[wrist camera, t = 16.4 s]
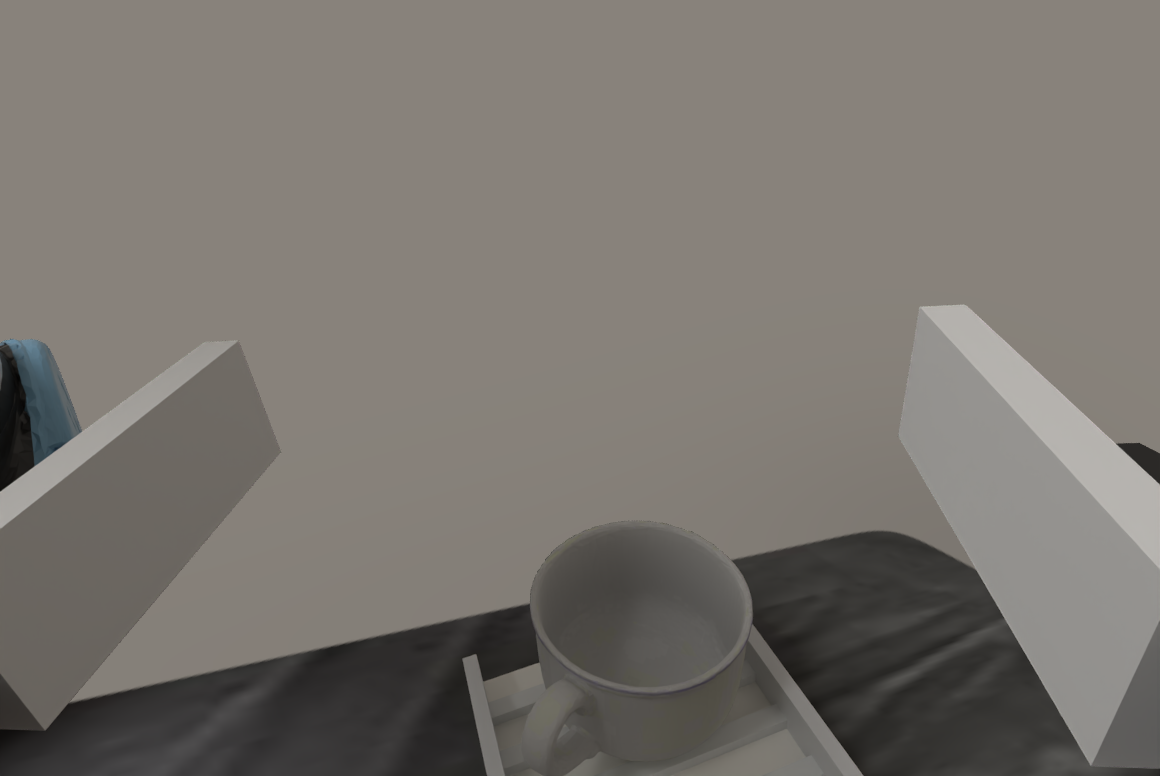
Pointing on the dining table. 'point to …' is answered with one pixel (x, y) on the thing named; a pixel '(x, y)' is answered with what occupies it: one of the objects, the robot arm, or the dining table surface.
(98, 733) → the dining table surface
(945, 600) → the dining table surface
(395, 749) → the dining table surface
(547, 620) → the teacup
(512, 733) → the drying rack
